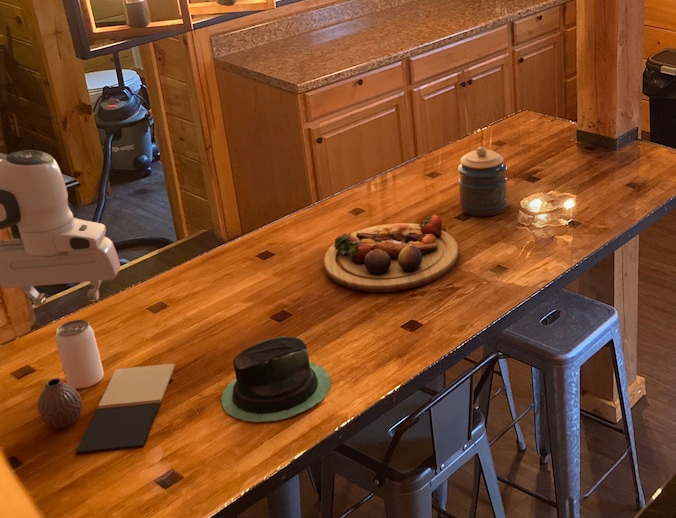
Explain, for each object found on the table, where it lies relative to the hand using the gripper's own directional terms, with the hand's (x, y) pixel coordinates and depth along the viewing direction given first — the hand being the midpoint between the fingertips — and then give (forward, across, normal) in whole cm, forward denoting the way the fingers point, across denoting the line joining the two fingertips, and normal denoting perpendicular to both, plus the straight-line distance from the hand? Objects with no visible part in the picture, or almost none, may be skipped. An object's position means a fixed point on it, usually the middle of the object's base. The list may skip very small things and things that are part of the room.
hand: (67, 301), depth 178 cm
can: (+18, 0, 0) cm, 18 cm away
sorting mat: (+18, +10, -11) cm, 23 cm away
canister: (+18, +82, +65) cm, 106 cm away
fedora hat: (+18, +37, -10) cm, 42 cm away
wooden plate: (+18, +58, +39) cm, 72 cm away
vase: (+18, 0, -13) cm, 22 cm away
